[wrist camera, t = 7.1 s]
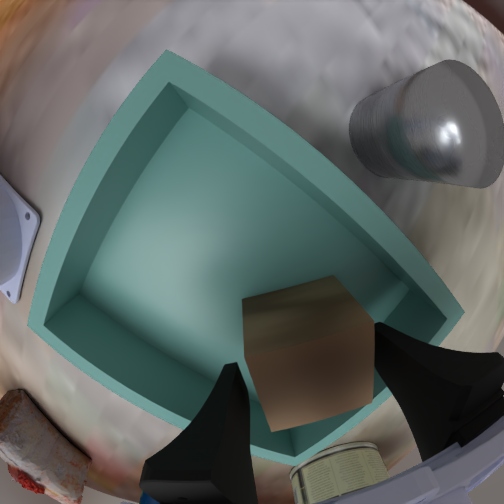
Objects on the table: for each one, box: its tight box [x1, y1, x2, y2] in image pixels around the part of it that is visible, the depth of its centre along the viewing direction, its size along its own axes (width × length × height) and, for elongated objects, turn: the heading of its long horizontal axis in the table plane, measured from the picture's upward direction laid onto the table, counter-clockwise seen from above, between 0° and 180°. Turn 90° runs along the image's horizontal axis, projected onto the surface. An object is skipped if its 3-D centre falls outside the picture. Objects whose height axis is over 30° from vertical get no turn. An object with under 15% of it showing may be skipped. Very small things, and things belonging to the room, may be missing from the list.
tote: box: [27, 50, 465, 466], centre depth 13 cm, size 18×14×5 cm
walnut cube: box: [242, 275, 375, 432], centre depth 12 cm, size 5×5×5 cm
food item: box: [0, 390, 92, 504], centre depth 15 cm, size 14×8×10 cm, turn 20°
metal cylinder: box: [349, 60, 504, 188], centre depth 10 cm, size 5×5×7 cm
